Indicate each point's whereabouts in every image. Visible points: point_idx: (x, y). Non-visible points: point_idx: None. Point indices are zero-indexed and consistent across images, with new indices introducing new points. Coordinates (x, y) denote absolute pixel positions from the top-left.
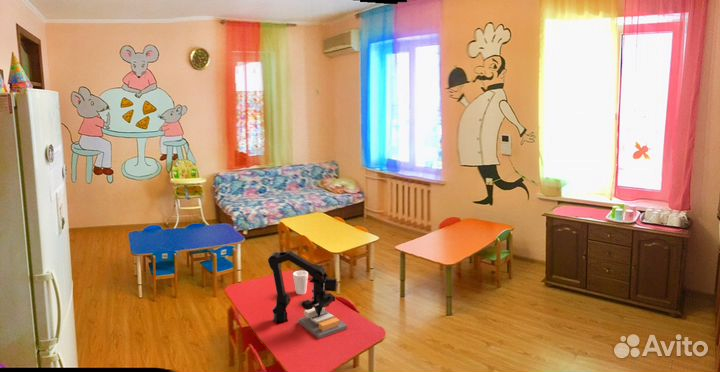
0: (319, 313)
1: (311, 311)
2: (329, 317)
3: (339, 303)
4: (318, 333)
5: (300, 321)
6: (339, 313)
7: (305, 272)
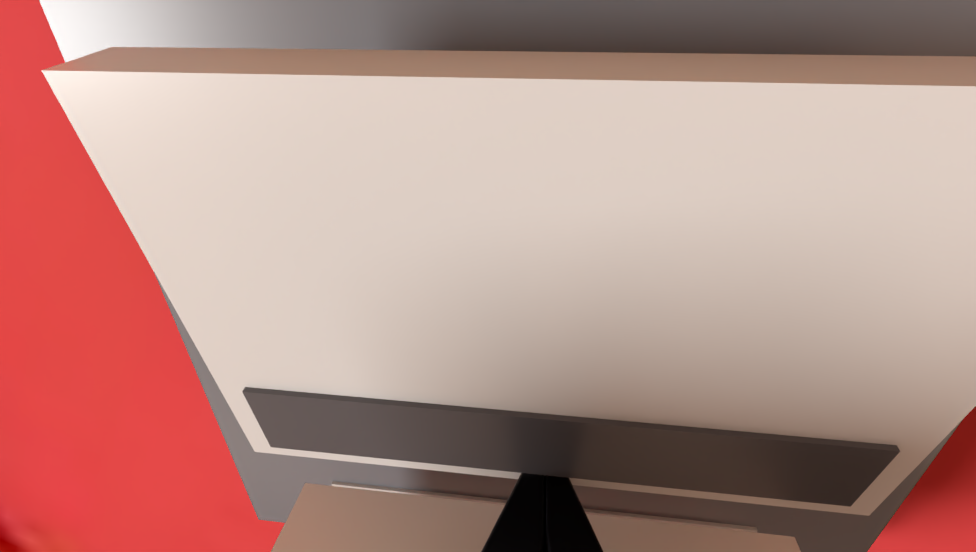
0: (540, 528)
1: None
2: (330, 69)
3: (34, 524)
4: None
5: (869, 532)
6: (70, 359)
7: None
